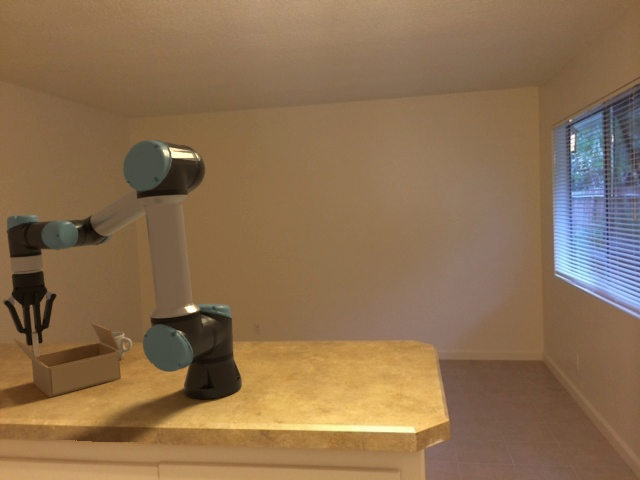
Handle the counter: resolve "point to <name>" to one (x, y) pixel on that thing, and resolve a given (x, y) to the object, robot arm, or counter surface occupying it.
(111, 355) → the carton
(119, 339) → the cup
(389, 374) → the counter surface
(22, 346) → the flap near
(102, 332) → the flap far
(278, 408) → the counter surface
